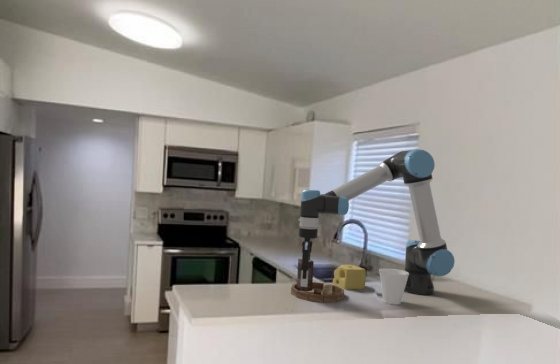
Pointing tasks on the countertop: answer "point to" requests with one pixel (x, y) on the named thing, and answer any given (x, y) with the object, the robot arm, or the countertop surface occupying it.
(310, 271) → the box
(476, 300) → the countertop surface
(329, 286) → the bead
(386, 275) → the cup
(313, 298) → the walnut tray
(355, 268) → the cheese
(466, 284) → the countertop surface
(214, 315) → the countertop surface
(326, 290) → the bead
